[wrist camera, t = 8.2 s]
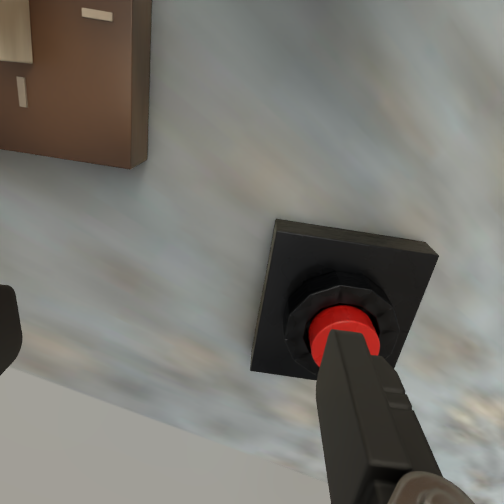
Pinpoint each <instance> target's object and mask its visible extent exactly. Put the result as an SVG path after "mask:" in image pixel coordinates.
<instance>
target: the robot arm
mask: <svg viewBox="0 0 504 504" xmlns="http://www.w3.org/2000/svg"><path fill="white" fill-rule="evenodd" d="M21 345H22V330H21V324H20V318H19V312H18V307H17V301H16V295H15V292H14V290H13V288H12V287H11V286H9V285H1V284H0V375H1V374H2V373H3V372H4V371H5V370H6V369H7V368H8V367H9V366H10V364H11V363H12V362H13V361H14V360H15V359H16V357H17V355H18V353H19V351H20V349H21ZM316 402H317V409H318V416H319V423H320V430H321V437H322V444H323V451H324V457H325V464H326V471H327V478H328V485H329V492H330V499H331V504H474V502H473V501H472V500H471V499H470V498H469V497H468V496H467V495H466V494H465V493H464V492H463V491H462V490H461V489H460V488H459V487H457V486H456V485H454V484H453V483H452V482H450V481H448V480H447V479H445V478H443V476H442V474H441V471H440V469H439V467H438V465H437V462H436V460H435V458H434V456H433V453H432V451H431V449H430V446H429V444H428V442H427V440H426V437H425V435H424V433H423V431H422V428H421V426H420V424H419V421H418V419H417V417H416V415H415V412H414V410H412V405H411V403H410V401H409V399H408V396H407V395H406V394H405V390H404V387H403V385H402V383H401V380H400V378H399V376H398V374H397V372H396V371H395V370H394V369H393V368H392V367H391V366H390V364H389V363H388V362H387V361H386V360H385V359H384V358H383V357H382V356H376V355H371V354H370V351H369V349H368V346H367V343H366V341H365V338H364V336H363V334H362V333H358V332H351V331H343V330H336V329H331V330H330V332H329V335H328V338H327V342H326V346H325V349H324V353H323V357H322V361H321V364H320V368H319V372H318V376H317V382H316Z"/></svg>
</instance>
